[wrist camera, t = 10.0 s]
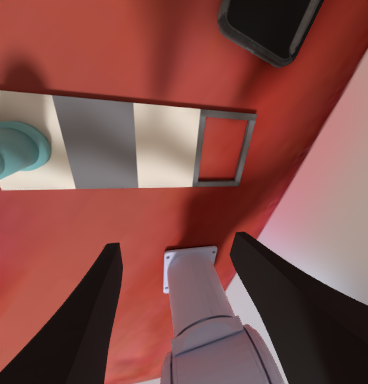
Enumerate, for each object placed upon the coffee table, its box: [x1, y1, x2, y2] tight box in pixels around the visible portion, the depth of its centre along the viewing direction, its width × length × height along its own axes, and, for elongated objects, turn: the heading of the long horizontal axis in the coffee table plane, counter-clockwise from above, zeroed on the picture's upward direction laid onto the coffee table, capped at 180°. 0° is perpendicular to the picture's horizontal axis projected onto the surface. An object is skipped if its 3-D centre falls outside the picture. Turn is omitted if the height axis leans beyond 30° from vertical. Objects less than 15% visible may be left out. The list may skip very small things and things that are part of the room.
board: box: [0, 90, 257, 190], centre depth 15 cm, size 8×24×1 cm, turn 86°
